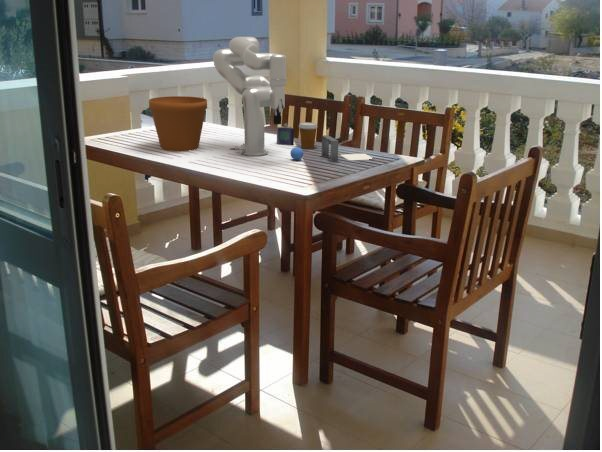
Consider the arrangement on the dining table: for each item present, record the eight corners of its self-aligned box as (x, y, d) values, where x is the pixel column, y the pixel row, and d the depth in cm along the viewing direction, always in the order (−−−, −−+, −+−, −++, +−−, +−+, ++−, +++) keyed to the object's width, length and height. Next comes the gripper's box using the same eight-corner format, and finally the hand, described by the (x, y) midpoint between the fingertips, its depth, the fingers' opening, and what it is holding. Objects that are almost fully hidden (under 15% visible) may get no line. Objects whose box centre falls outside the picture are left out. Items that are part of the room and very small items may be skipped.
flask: (275, 144, 359) (276, 123, 356) (278, 143, 361) (278, 122, 358) (292, 145, 356) (293, 124, 353) (294, 144, 359) (295, 123, 355)
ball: (292, 161, 319) (292, 148, 317) (288, 158, 325) (289, 146, 323) (304, 161, 321) (305, 148, 319) (301, 158, 326) (301, 145, 324)
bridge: (331, 162, 320) (332, 141, 317) (321, 155, 334) (321, 135, 331) (337, 161, 321) (338, 140, 318) (327, 155, 334) (327, 135, 331)
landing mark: (349, 160, 323) (349, 160, 323) (339, 155, 335) (339, 154, 335) (375, 159, 327) (375, 159, 327) (364, 153, 339) (364, 153, 339)
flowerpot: (140, 150, 336) (138, 101, 329) (166, 140, 362) (164, 95, 355) (194, 155, 329) (192, 105, 322) (216, 144, 355) (215, 98, 348)
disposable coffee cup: (315, 149, 347) (315, 125, 343) (296, 148, 349) (296, 124, 345) (318, 146, 356) (319, 122, 352) (300, 145, 357) (300, 121, 354)
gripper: (265, 81, 315) (265, 121, 321) (273, 84, 301) (273, 127, 307) (281, 81, 317) (281, 121, 323) (290, 84, 303) (289, 126, 309)
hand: (277, 123), depth 315 cm, fingers closed
